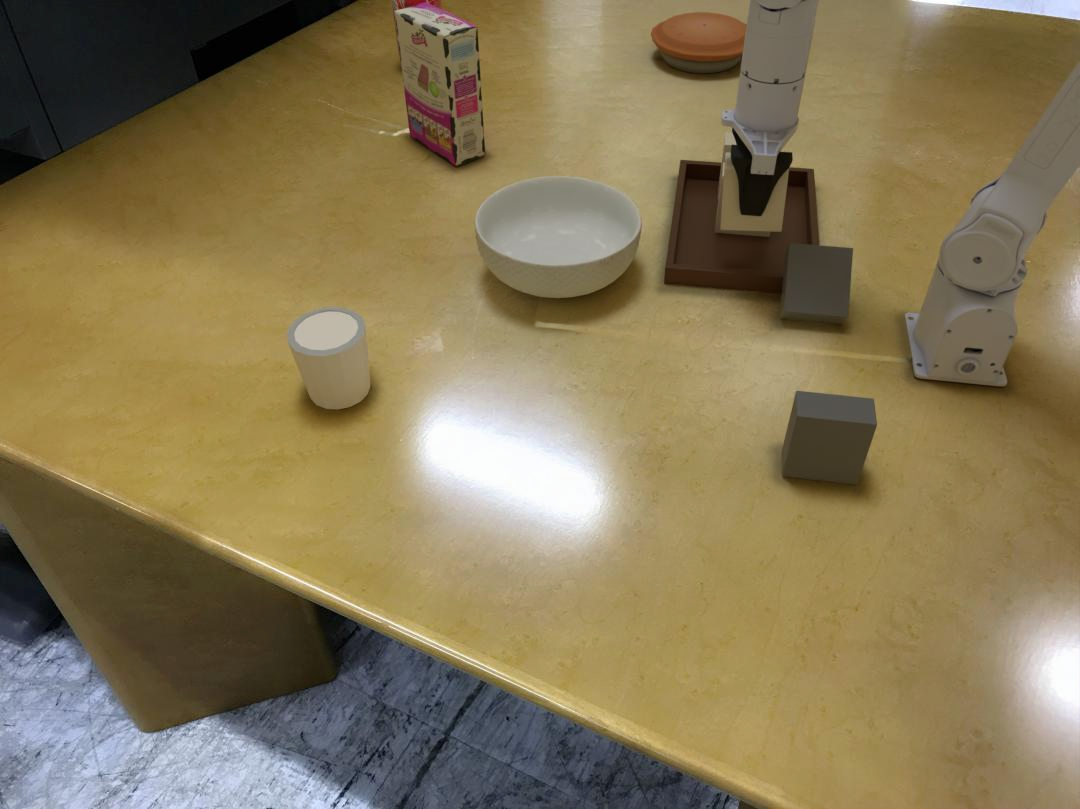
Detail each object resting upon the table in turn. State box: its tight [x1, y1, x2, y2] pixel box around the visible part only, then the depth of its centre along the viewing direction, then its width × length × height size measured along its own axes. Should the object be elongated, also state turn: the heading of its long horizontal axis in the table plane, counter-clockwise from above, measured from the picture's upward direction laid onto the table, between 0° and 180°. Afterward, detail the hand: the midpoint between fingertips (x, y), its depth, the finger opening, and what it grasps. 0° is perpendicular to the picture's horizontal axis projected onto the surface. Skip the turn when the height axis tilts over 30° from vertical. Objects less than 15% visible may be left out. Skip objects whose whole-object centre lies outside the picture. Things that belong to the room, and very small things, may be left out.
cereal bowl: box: [474, 175, 643, 299], centre depth 93 cm, size 17×17×7 cm
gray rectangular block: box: [779, 243, 854, 325], centre depth 88 cm, size 3×6×7 cm
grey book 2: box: [781, 390, 878, 486], centre depth 72 cm, size 3×6×7 cm, turn 80°
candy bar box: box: [394, 2, 486, 167], centre depth 111 cm, size 11×5×16 cm, turn 39°
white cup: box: [286, 306, 372, 410], centre depth 81 cm, size 7×7×7 cm
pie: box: [650, 11, 747, 74], centre depth 133 cm, size 16×16×5 cm
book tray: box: [663, 159, 821, 295], centre depth 99 cm, size 23×16×3 cm
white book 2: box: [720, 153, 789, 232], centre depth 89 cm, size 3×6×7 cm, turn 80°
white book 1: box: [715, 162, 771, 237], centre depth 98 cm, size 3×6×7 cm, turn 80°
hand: (751, 204), depth 90 cm, fingers closed on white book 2, 3 cm apart
